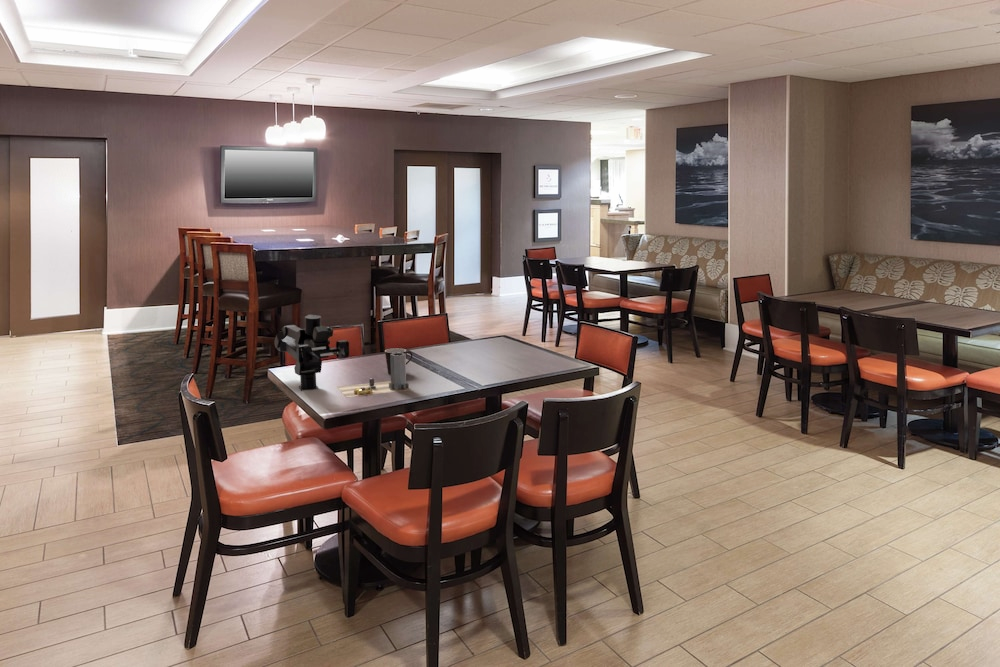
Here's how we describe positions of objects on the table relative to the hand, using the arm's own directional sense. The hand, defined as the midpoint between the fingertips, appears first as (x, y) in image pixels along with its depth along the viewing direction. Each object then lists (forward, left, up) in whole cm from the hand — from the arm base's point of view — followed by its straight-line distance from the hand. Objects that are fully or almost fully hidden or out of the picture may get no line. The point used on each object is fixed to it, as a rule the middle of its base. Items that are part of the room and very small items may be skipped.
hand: (332, 358), depth 259 cm
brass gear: (-9, +13, -16) cm, 22 cm away
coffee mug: (-33, +34, -17) cm, 50 cm away
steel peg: (-15, +17, -16) cm, 28 cm away
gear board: (-14, +18, -17) cm, 28 cm away
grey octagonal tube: (-11, +27, -16) cm, 33 cm away
